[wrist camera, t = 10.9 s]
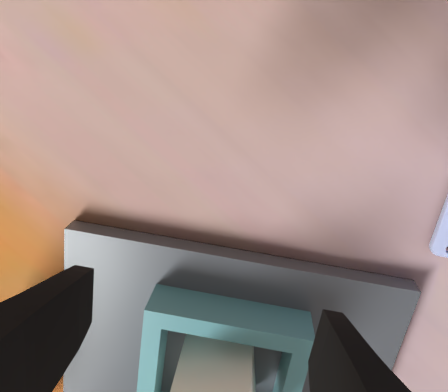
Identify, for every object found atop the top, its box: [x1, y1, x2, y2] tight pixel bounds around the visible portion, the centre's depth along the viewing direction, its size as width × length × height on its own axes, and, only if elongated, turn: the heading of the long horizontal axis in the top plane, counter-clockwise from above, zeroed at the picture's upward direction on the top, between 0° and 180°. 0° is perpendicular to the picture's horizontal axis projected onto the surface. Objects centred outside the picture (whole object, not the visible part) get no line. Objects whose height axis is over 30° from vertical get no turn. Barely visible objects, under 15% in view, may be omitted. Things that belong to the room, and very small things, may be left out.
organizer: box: [63, 220, 421, 392], centre depth 24 cm, size 20×14×4 cm
